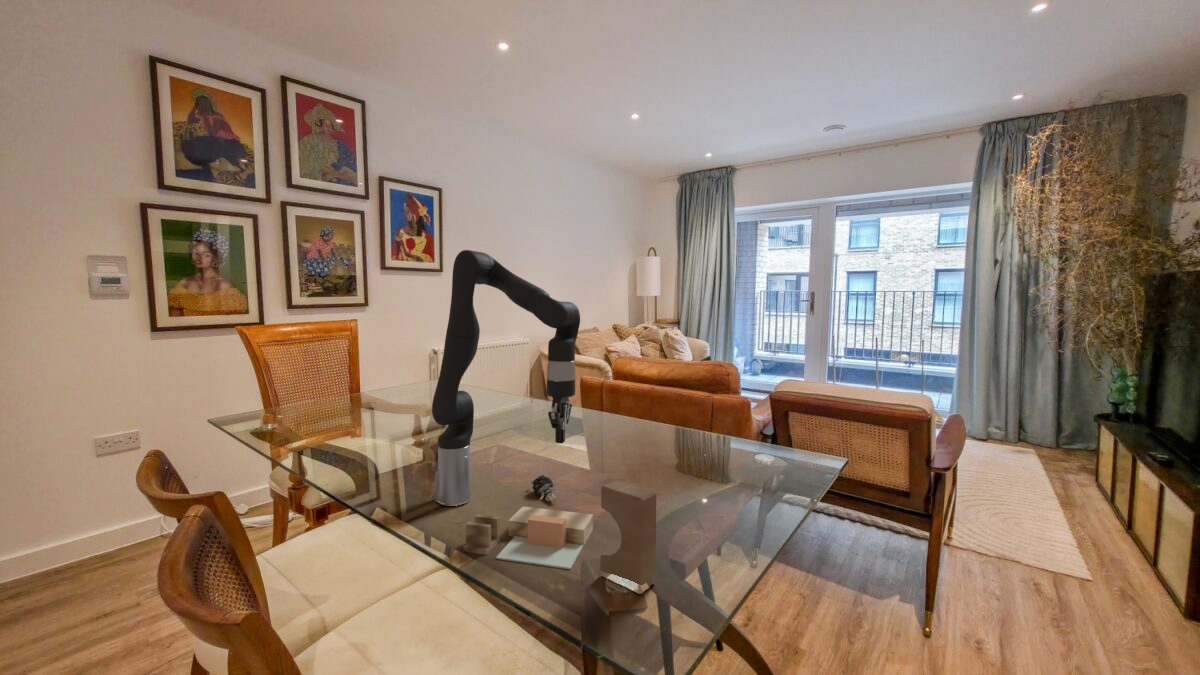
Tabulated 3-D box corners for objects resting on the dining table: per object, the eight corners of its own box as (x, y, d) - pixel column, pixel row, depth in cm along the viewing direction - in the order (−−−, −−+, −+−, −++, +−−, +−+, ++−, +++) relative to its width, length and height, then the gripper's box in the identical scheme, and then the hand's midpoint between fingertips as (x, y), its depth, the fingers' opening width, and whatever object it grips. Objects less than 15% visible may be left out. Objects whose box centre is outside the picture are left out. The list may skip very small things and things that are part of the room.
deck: (508, 535, 118) (508, 520, 118) (522, 520, 127) (522, 506, 127) (583, 545, 114) (583, 529, 114) (592, 529, 122) (593, 514, 122)
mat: (496, 558, 107) (496, 557, 107) (515, 537, 117) (515, 536, 117) (570, 569, 103) (570, 567, 103) (583, 546, 113) (583, 545, 113)
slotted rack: (463, 551, 110) (463, 526, 110) (479, 536, 118) (479, 512, 118) (486, 554, 109) (486, 529, 109) (501, 539, 117) (501, 514, 116)
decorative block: (599, 576, 101) (599, 485, 100) (615, 565, 105) (616, 479, 104) (640, 597, 93) (641, 499, 92) (656, 585, 98) (657, 491, 97)
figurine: (567, 500, 140) (549, 480, 154) (559, 484, 138) (541, 465, 151) (548, 514, 138) (531, 492, 151) (539, 497, 136) (523, 477, 149)
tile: (532, 537, 117) (527, 543, 114) (532, 514, 116) (527, 519, 113) (566, 542, 114) (562, 548, 112) (566, 518, 114) (562, 524, 111)
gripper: (555, 373, 129) (554, 435, 130) (538, 380, 116) (537, 448, 117) (581, 375, 127) (580, 437, 128) (567, 381, 114) (566, 451, 115)
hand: (560, 442), depth 122 cm, fingers closed
